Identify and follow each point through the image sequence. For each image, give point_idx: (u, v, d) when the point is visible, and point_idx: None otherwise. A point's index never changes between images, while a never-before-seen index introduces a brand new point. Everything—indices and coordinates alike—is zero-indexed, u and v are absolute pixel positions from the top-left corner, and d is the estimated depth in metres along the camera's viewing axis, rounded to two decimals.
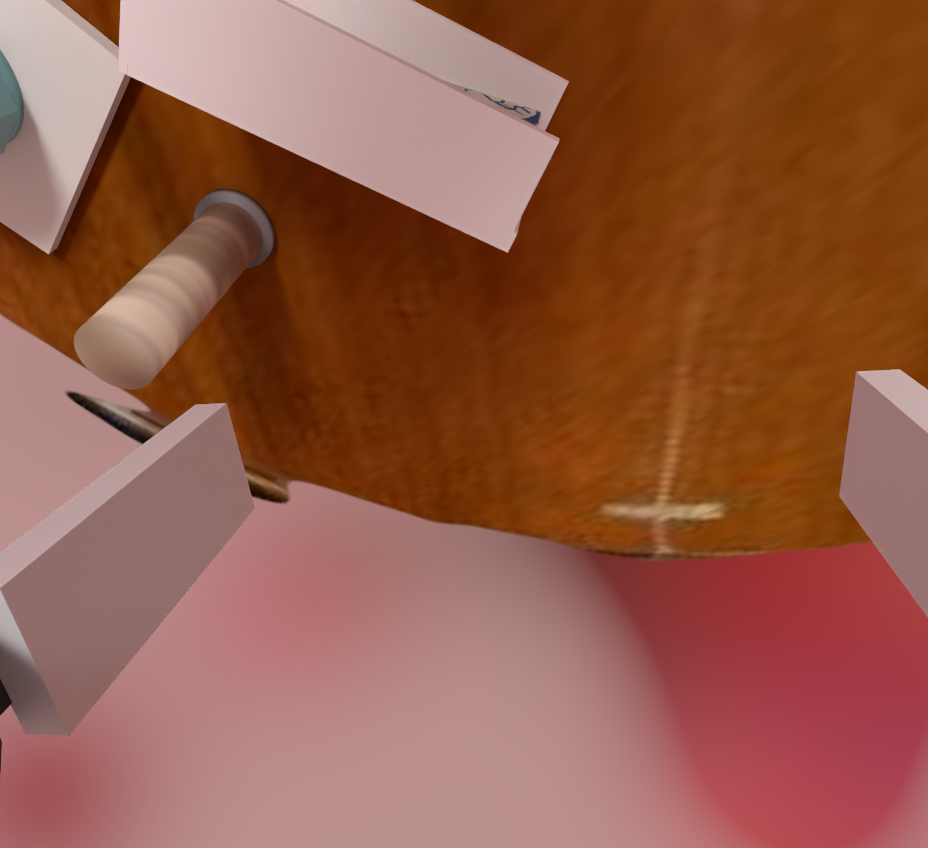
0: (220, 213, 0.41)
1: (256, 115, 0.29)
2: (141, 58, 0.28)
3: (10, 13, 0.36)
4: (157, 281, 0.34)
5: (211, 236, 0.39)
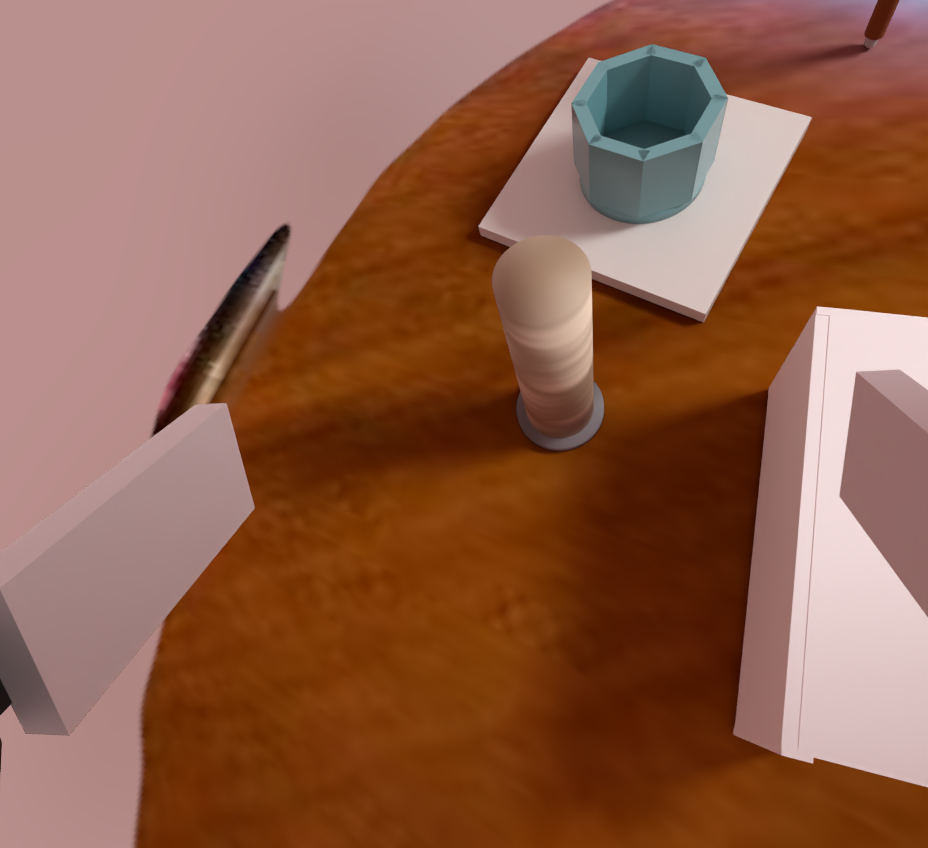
0: (593, 395, 0.38)
1: (829, 435, 0.28)
2: (839, 328, 0.29)
3: (716, 224, 0.41)
4: None
5: (592, 385, 0.35)
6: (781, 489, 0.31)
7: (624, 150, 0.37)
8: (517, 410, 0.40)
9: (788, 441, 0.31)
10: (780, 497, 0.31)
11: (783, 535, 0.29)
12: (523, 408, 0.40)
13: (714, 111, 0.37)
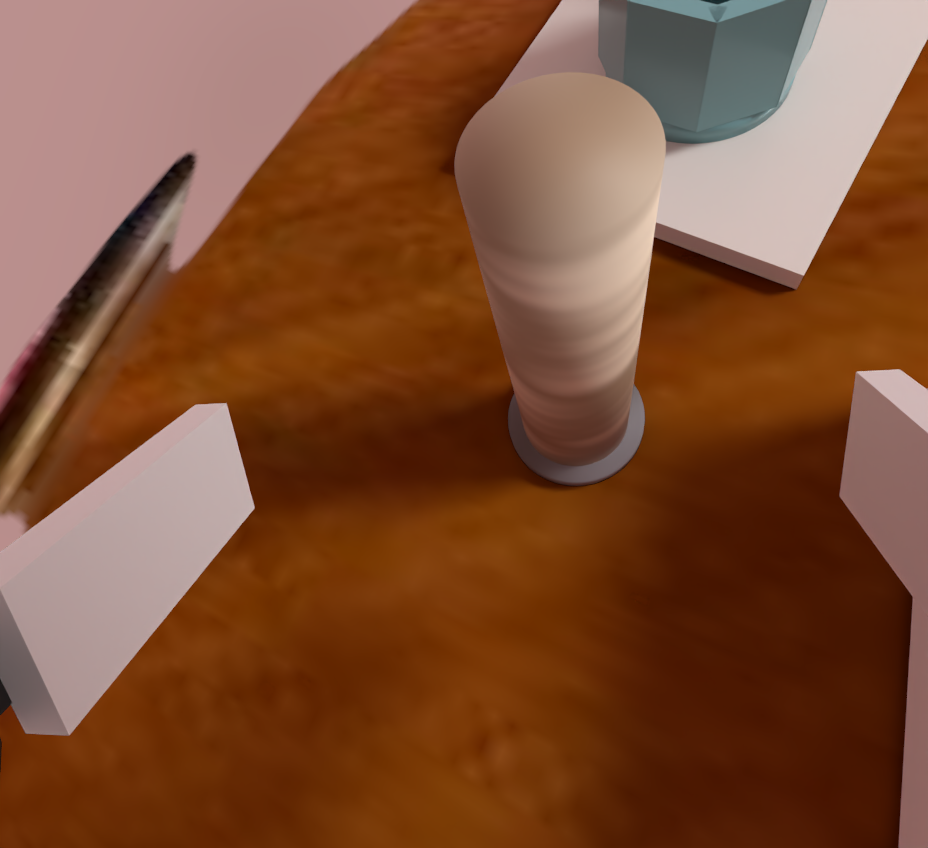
0: None
1: None
2: None
3: (813, 142, 0.27)
4: None
5: (632, 384, 0.21)
6: None
7: (685, 8, 0.23)
8: (509, 421, 0.26)
9: None
10: None
11: None
12: (519, 418, 0.26)
13: None
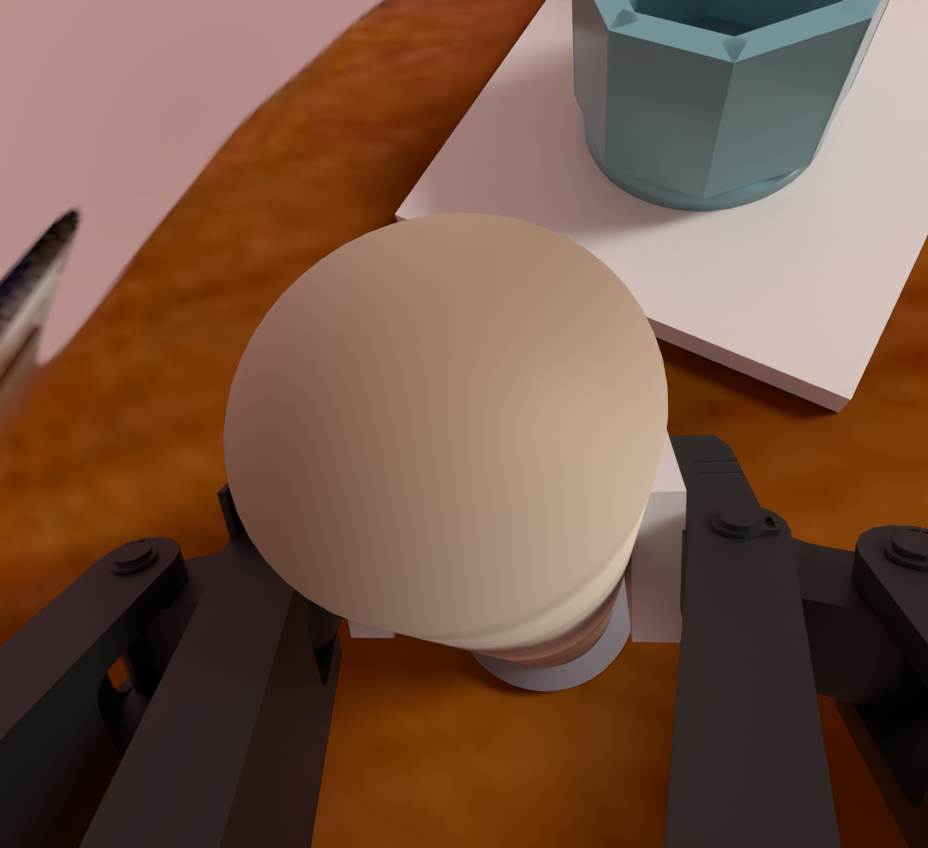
0: None
1: None
2: None
3: (857, 212, 0.21)
4: None
5: None
6: None
7: (688, 42, 0.17)
8: None
9: None
10: None
11: None
12: None
13: None
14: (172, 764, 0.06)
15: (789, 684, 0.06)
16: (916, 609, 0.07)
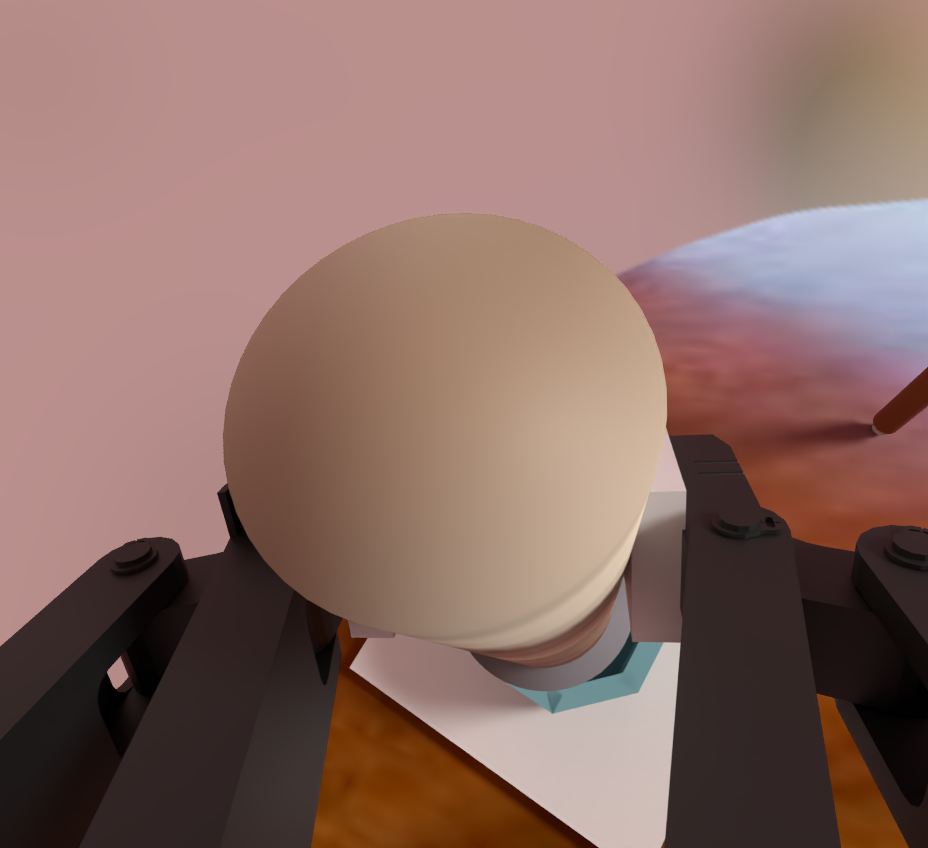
0: None
1: None
2: None
3: (664, 718, 0.30)
4: None
5: None
6: None
7: None
8: None
9: None
10: None
11: None
12: None
13: None
14: (172, 764, 0.06)
15: (789, 684, 0.06)
16: (916, 609, 0.07)
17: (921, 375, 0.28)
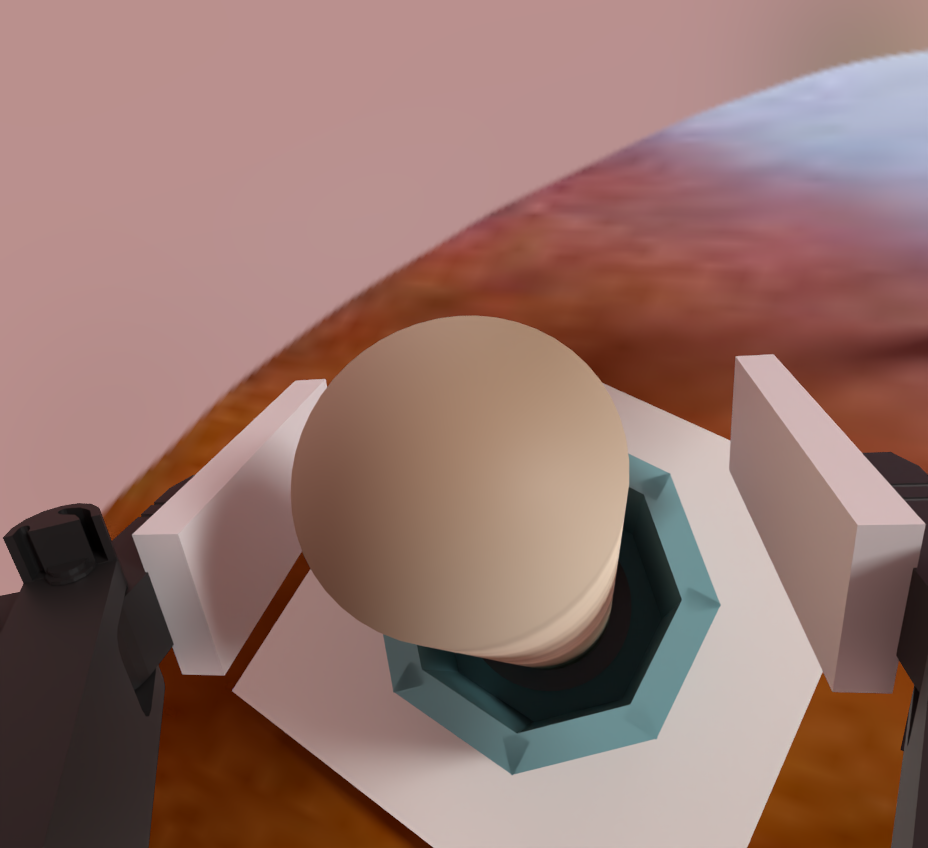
0: None
1: None
2: None
3: (694, 766, 0.20)
4: None
5: (611, 607, 0.16)
6: None
7: (470, 730, 0.16)
8: None
9: None
10: None
11: None
12: None
13: (688, 644, 0.15)
14: None
15: None
16: None
17: None
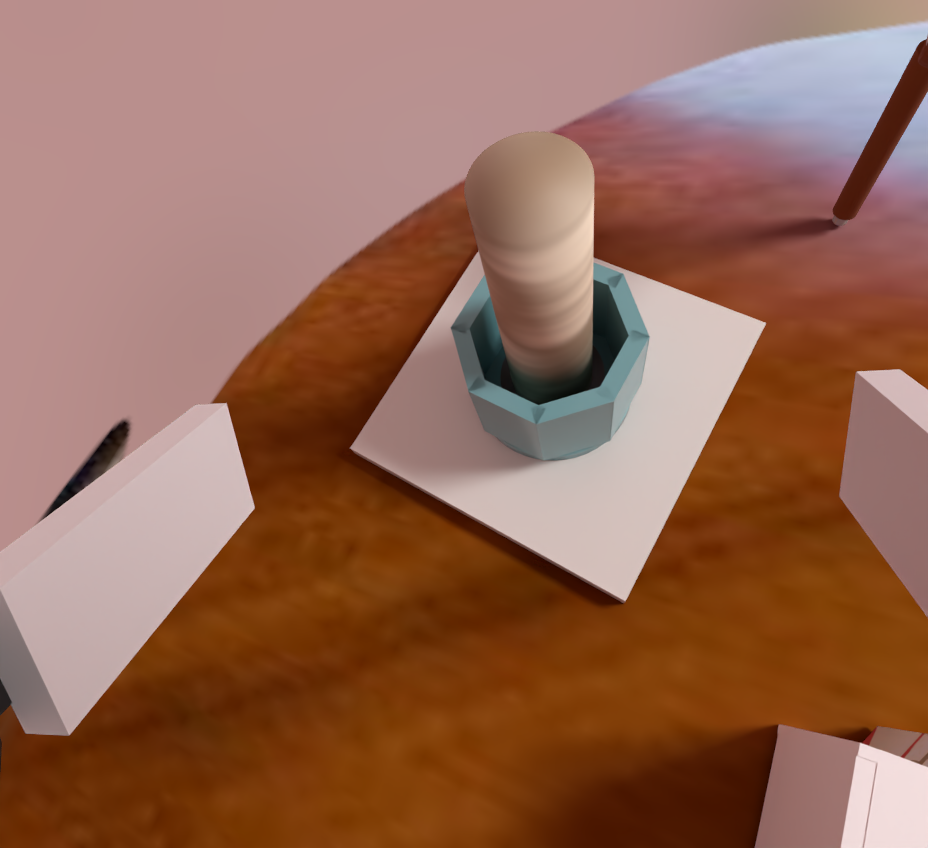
0: None
1: None
2: (890, 789, 0.19)
3: (642, 468, 0.32)
4: None
5: (591, 344, 0.29)
6: None
7: (512, 405, 0.28)
8: (501, 379, 0.34)
9: None
10: None
11: None
12: (508, 376, 0.34)
13: (631, 356, 0.28)
14: None
15: None
16: None
17: None
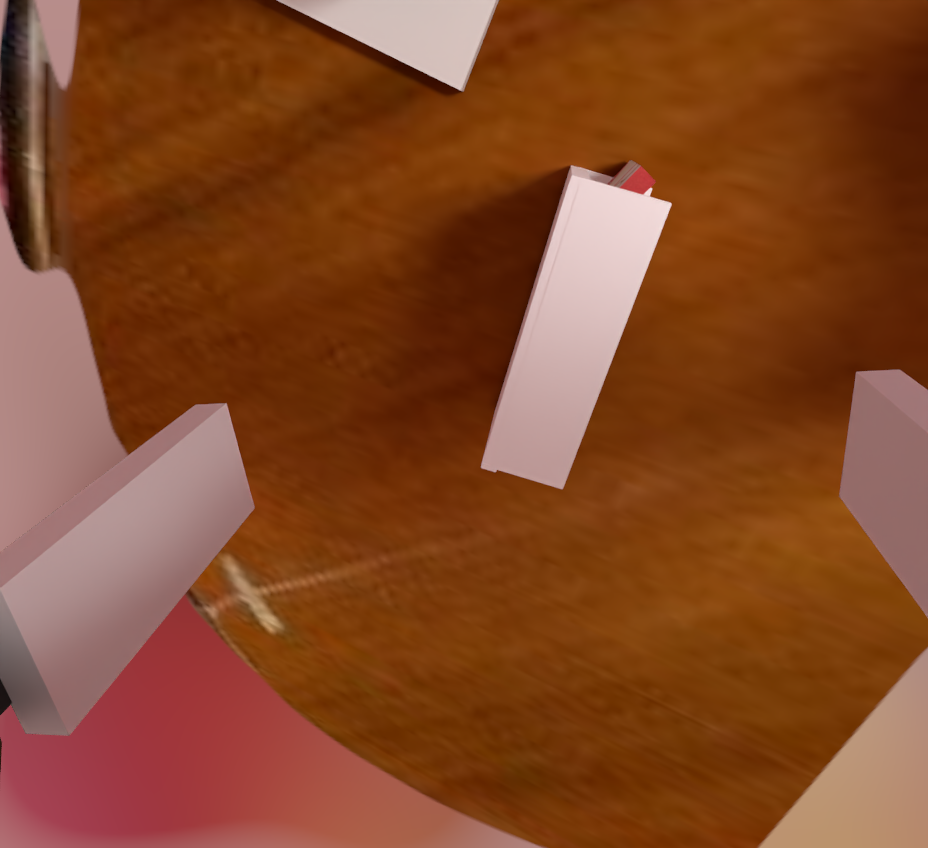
0: None
1: (552, 288, 0.38)
2: (583, 198, 0.36)
3: None
4: None
5: None
6: (532, 294, 0.42)
7: None
8: None
9: (542, 262, 0.40)
10: (530, 300, 0.42)
11: (520, 334, 0.42)
12: None
13: None
14: None
15: None
16: None
17: None
